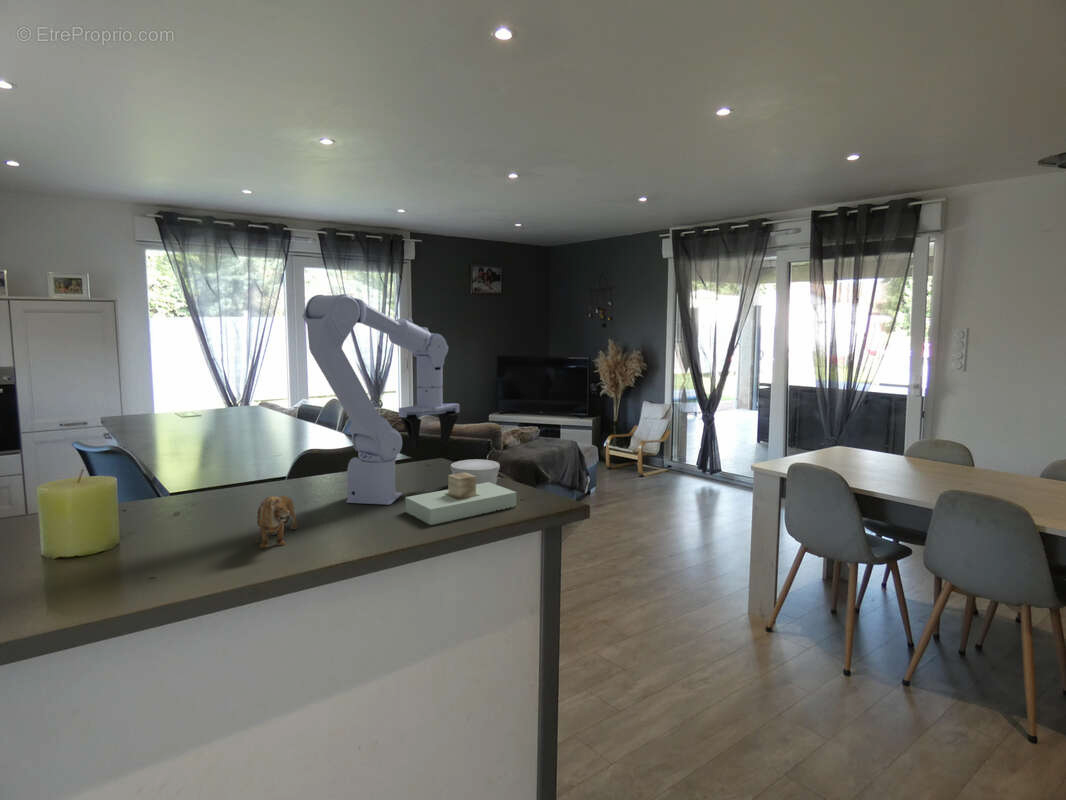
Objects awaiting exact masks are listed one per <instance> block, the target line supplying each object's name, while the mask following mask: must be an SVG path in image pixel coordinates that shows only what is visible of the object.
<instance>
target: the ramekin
mask: <svg viewBox="0 0 1066 800" xmlns="http://www.w3.org/2000/svg"><path fill="white" fill-rule="evenodd" d="M500 467H501V465H500V463H499V462H498V461H495V460H491V459H490V460H489V459H481V458H480V459H478V458H475V459H464V460H458V461H455V462H453V463H451V464H450V470H451V475H452V474H458V473H464V472H466V473H468V474H471V475H474V476H476V484H481V483H487V482H490V483H493V484H495V485H497V481H498V476H499V470H500ZM496 476H497V477H496Z"/></svg>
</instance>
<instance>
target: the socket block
mask: <svg viewBox="0 0 1066 800" xmlns="http://www.w3.org/2000/svg"><path fill="white" fill-rule="evenodd" d="M517 494H518V493H517V491H514V490H511V489H508V488H507V487H503V486H501V485H498V484H496V485H495V484H493V483H490V482H487V483H481V484H476V497H470V498H465V499H460V500H457V499H454V498H452V497H450V496H448V489H443V490H439V491H433V492H427V493H421V494H416V495H411V496H405V498H404V500H405V512H406V513H407V514H409V515H411V516H412V515H413V517H414V516H415V517H414V518H416V519H418V520H420V521H422V522H424V523H426V524H427V525H430V526H432V525H437V524H443V523H447V522H451V521H455V520H460V519H465V518H470V517H474V516H478V515H483V513H484V514H488V513H492V511H493V512H497V511H496V510H498V511H502V510H506V508H507V509H511V508H515V506H516V507H517ZM510 507H511V508H510ZM501 509H502V510H501Z"/></svg>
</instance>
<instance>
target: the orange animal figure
mask: <svg viewBox="0 0 1066 800" xmlns="http://www.w3.org/2000/svg"><path fill="white" fill-rule="evenodd" d="M293 503H294V502H293V500H292V499H291V497H289V496H287V495H286V496H285V495H281V496H275V495H274V496H269V497H266V498H265V499H264V500H263V501H262V502H261V503H260V506H258V510H257V516H256V520H257V521H256V523H257V527H260V535H261V539H262V543H260V545H259V547H260V546H261V547H260V548H262V547H265V548H267V547H269V537H268V533H269V535H270V536H272V535H273V536H274V535H277V536H276V543H277V546H278V545H282V546H285V545H286V541H284V531H285V530H284V529H285V528H284V526H285V524H288V522H289V519H290V520H291V525H290V530H297V529H298V523H297V516H296V515H295V507H294V504H293Z"/></svg>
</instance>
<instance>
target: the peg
mask: <svg viewBox="0 0 1066 800" xmlns="http://www.w3.org/2000/svg"><path fill="white" fill-rule="evenodd" d="M447 477H448V478H447V482H448V484H447V486H448V488H447V490H448V496H450V497H452V498H454V499H457V500H460V499H465V498H470V497H476V476H474V475H471V474H468V473H466V472H464V473H458V474H452V473H451V474H448V475H447Z"/></svg>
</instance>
